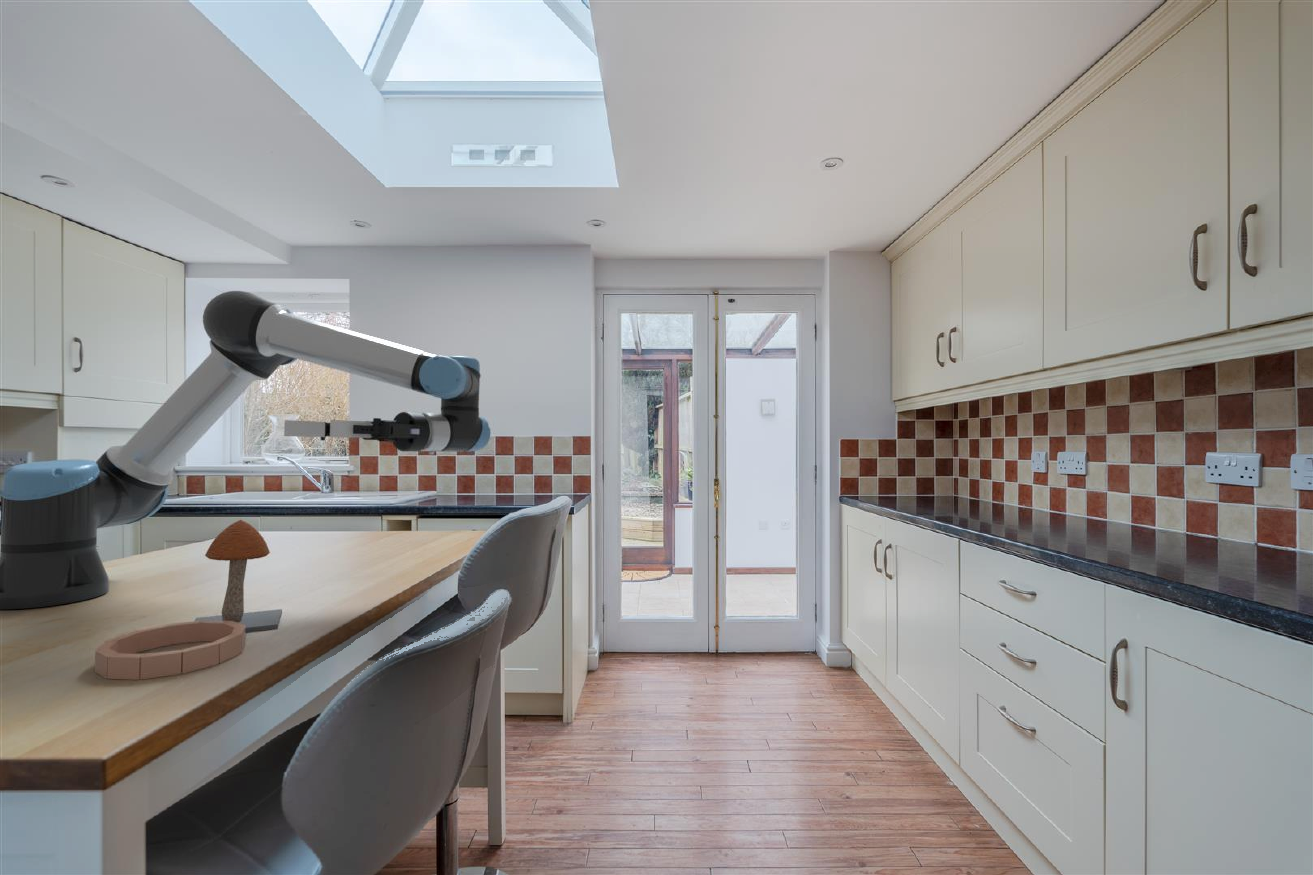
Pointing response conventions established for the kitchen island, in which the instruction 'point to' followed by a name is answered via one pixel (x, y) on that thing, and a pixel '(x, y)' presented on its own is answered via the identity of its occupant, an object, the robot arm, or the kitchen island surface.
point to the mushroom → (236, 562)
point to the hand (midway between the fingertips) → (307, 428)
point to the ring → (124, 664)
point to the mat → (254, 620)
